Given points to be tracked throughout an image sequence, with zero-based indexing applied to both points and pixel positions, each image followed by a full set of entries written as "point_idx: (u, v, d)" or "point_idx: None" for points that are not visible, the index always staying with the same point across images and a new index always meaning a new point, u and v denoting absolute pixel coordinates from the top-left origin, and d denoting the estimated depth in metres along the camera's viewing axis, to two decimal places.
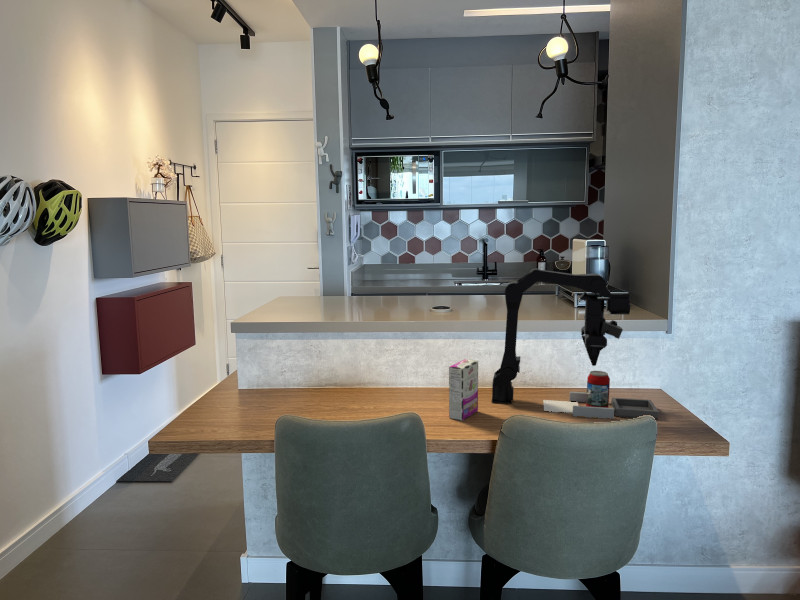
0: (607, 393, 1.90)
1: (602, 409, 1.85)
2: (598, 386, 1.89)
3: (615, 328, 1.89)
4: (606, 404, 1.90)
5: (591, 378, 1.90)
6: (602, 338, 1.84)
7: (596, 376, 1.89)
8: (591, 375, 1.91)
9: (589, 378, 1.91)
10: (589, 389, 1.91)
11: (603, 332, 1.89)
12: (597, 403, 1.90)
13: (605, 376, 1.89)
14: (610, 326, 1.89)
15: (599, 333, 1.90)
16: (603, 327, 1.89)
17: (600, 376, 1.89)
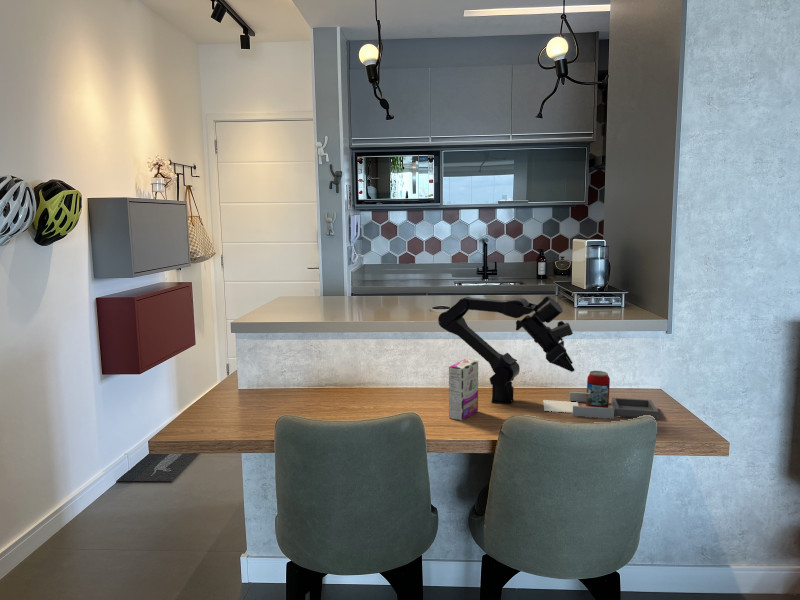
0: (607, 393, 1.90)
1: (602, 409, 1.85)
2: (598, 386, 1.89)
3: (562, 329, 1.89)
4: (606, 404, 1.90)
5: (591, 378, 1.90)
6: (556, 347, 1.84)
7: (596, 376, 1.89)
8: (591, 375, 1.91)
9: (589, 378, 1.91)
10: (589, 389, 1.91)
11: (556, 339, 1.90)
12: (597, 403, 1.90)
13: (605, 376, 1.89)
14: (557, 330, 1.90)
15: (554, 343, 1.90)
16: (552, 336, 1.90)
17: (600, 376, 1.89)
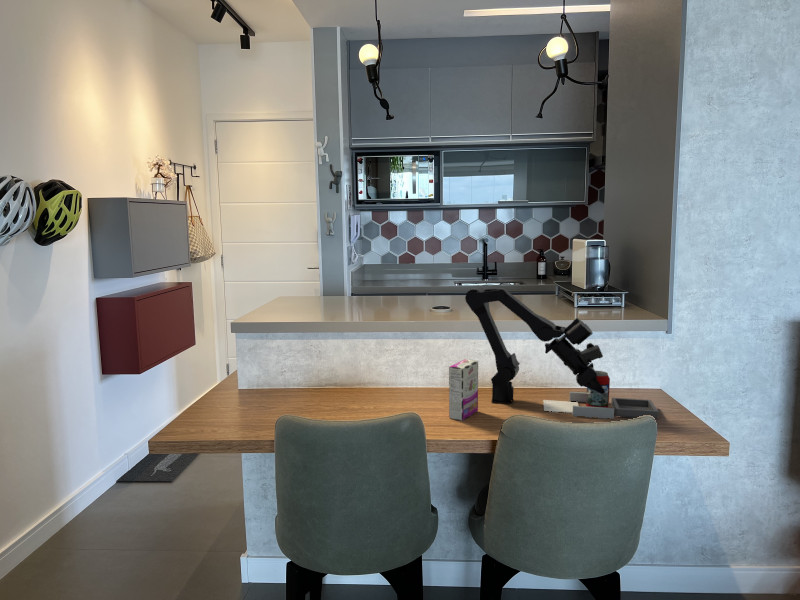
0: (607, 393, 1.90)
1: (602, 409, 1.85)
2: None
3: (592, 351, 1.89)
4: (606, 404, 1.90)
5: None
6: (587, 371, 1.83)
7: None
8: None
9: None
10: (589, 389, 1.91)
11: (586, 362, 1.89)
12: (597, 403, 1.90)
13: (605, 376, 1.89)
14: (587, 353, 1.89)
15: (585, 365, 1.90)
16: (582, 359, 1.89)
17: (600, 376, 1.89)
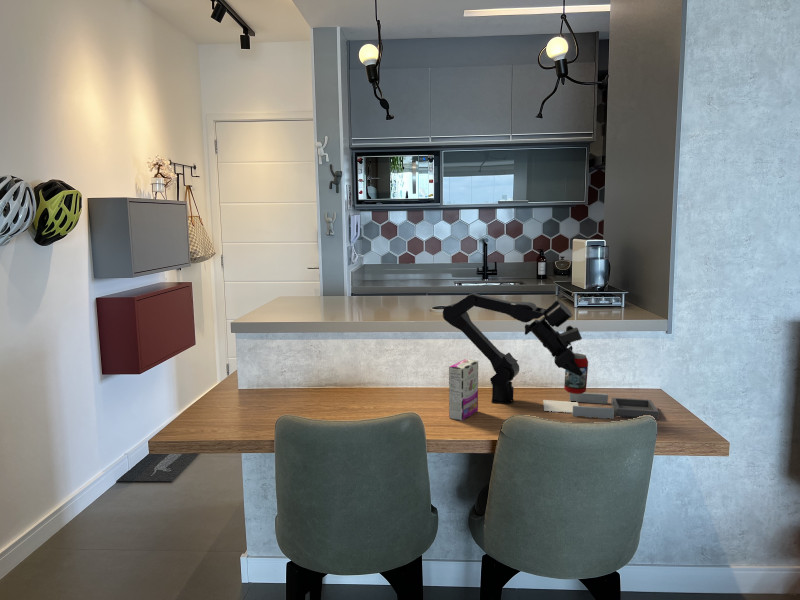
0: (585, 375, 1.91)
1: (602, 409, 1.85)
2: None
3: (571, 333, 1.89)
4: (584, 386, 1.91)
5: None
6: (566, 352, 1.84)
7: None
8: None
9: None
10: (567, 371, 1.92)
11: (565, 344, 1.90)
12: (574, 385, 1.90)
13: (583, 359, 1.90)
14: (566, 335, 1.90)
15: (563, 347, 1.90)
16: (561, 341, 1.90)
17: (578, 358, 1.89)
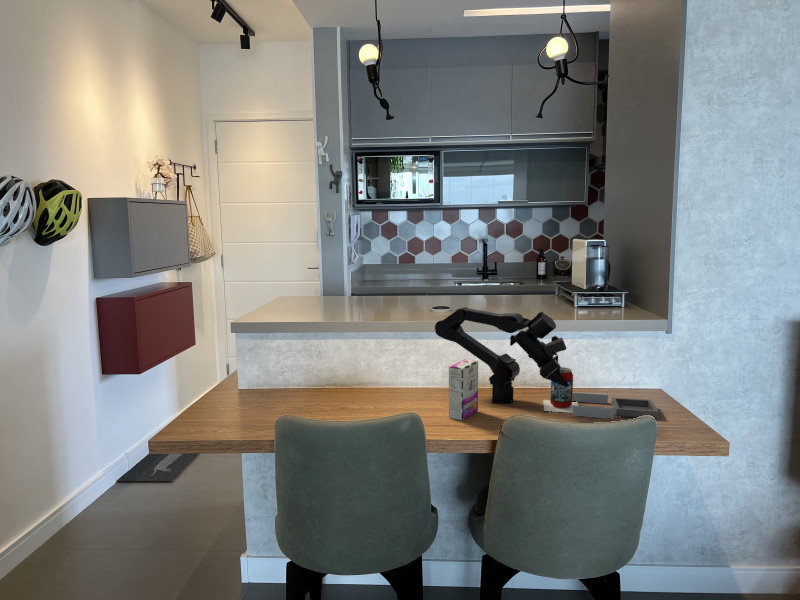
0: (570, 389, 1.92)
1: (602, 409, 1.85)
2: None
3: (556, 344, 1.91)
4: (569, 400, 1.93)
5: None
6: (550, 363, 1.85)
7: None
8: None
9: None
10: (552, 386, 1.94)
11: (550, 355, 1.91)
12: (560, 399, 1.92)
13: (568, 372, 1.92)
14: (551, 346, 1.91)
15: (548, 358, 1.91)
16: (546, 351, 1.91)
17: (563, 372, 1.91)
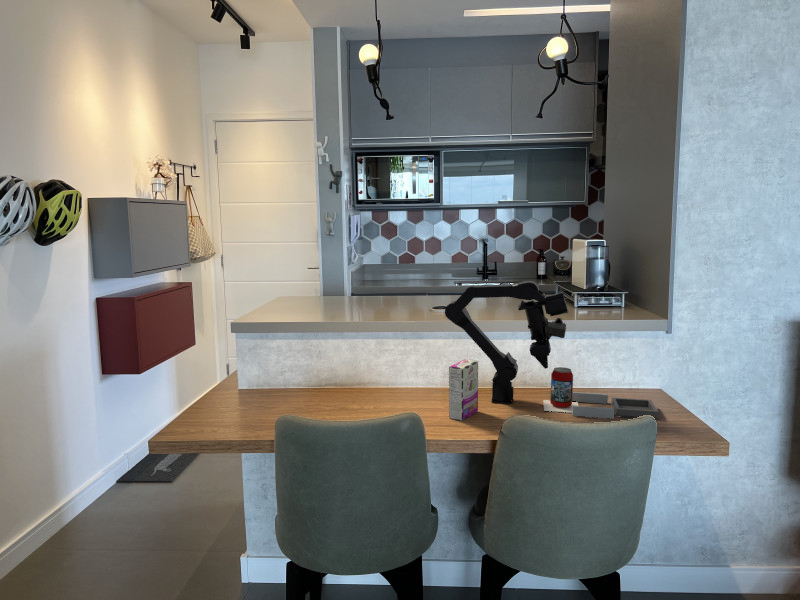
0: (570, 389, 1.92)
1: (602, 409, 1.85)
2: (561, 382, 1.91)
3: (558, 329, 1.93)
4: (569, 400, 1.93)
5: (554, 374, 1.93)
6: (544, 346, 1.89)
7: (559, 372, 1.92)
8: (555, 371, 1.93)
9: (553, 374, 1.93)
10: (552, 386, 1.94)
11: (547, 336, 1.94)
12: (560, 399, 1.92)
13: (568, 372, 1.92)
14: (553, 328, 1.93)
15: (544, 337, 1.95)
16: (546, 331, 1.94)
17: (563, 372, 1.91)
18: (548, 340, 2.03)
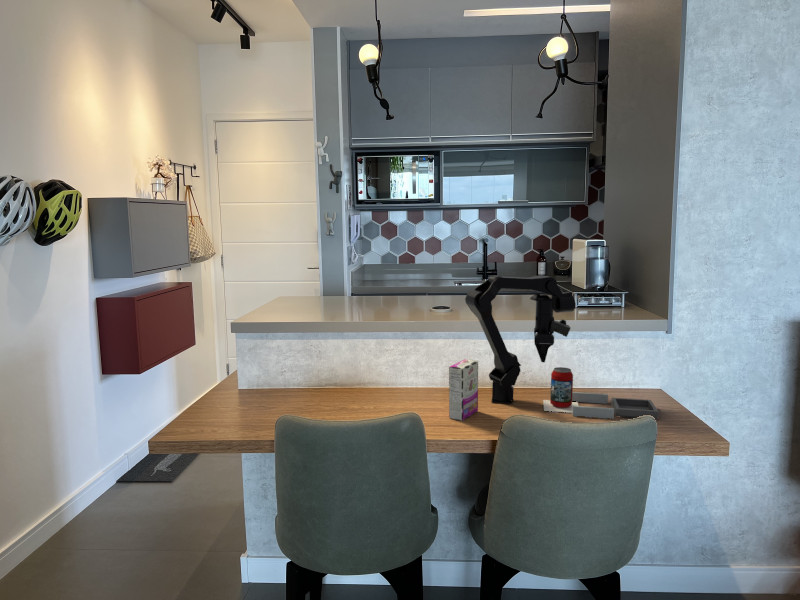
0: (570, 389, 1.92)
1: (602, 409, 1.85)
2: (561, 382, 1.91)
3: (563, 327, 2.00)
4: (569, 400, 1.93)
5: (554, 374, 1.93)
6: (549, 336, 1.95)
7: (559, 372, 1.92)
8: (554, 371, 1.93)
9: (553, 374, 1.93)
10: (552, 385, 1.94)
11: (552, 330, 2.01)
12: (560, 399, 1.92)
13: (568, 372, 1.92)
14: (558, 325, 2.00)
15: (548, 331, 2.01)
16: (551, 325, 2.00)
17: (563, 372, 1.91)
18: None
